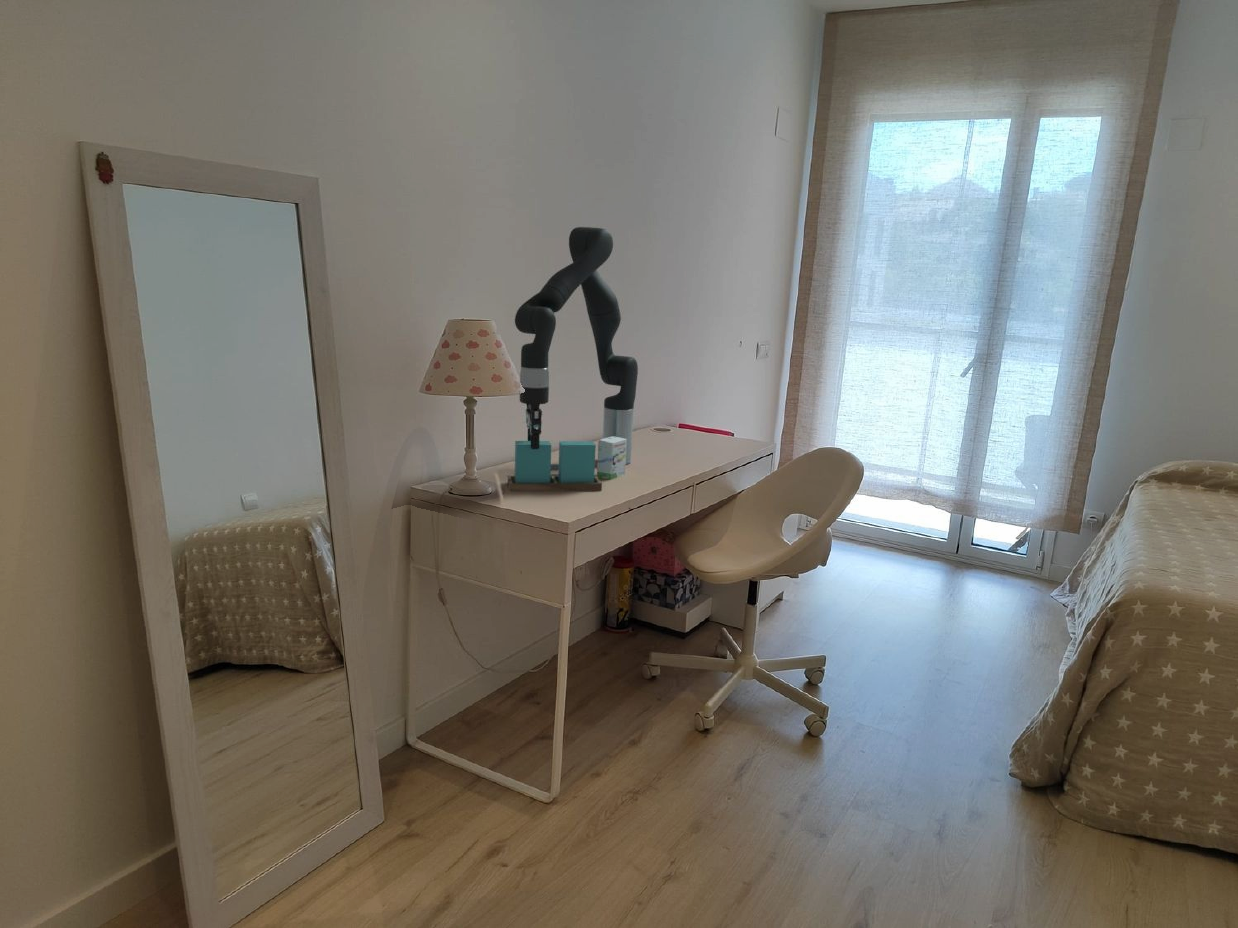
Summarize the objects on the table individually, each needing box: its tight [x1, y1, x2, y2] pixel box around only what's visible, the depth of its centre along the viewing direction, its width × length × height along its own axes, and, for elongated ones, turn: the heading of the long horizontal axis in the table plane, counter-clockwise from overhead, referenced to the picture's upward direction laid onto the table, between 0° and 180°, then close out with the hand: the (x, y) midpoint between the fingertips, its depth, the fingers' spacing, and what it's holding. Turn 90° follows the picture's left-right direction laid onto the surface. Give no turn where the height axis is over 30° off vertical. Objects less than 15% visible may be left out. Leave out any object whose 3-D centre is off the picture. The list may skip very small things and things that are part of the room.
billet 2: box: [557, 440, 597, 483], centre depth 215 cm, size 5×9×12 cm, turn 102°
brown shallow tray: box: [506, 474, 603, 492], centre depth 215 cm, size 9×24×3 cm, turn 102°
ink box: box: [596, 436, 627, 481], centre depth 229 cm, size 8×5×12 cm, turn 150°
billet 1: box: [514, 440, 552, 483], centre depth 212 cm, size 5×9×12 cm, turn 102°
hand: (533, 445), depth 211 cm, fingers open, 8 cm apart
